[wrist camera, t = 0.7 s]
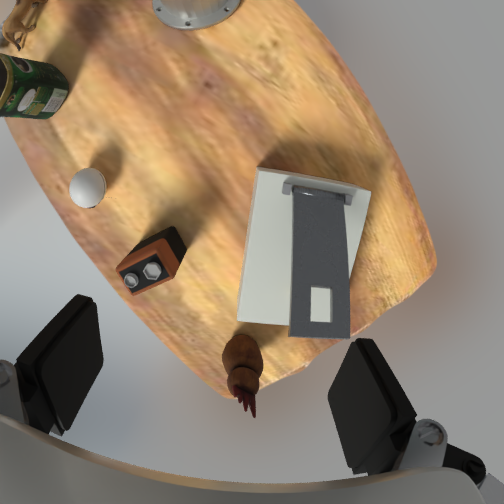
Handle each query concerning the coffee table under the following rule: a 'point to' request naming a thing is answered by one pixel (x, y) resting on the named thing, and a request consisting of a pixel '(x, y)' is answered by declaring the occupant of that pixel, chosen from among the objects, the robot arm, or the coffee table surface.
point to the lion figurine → (18, 20)
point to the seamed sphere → (88, 187)
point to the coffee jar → (30, 88)
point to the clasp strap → (319, 262)
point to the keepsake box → (287, 245)
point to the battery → (152, 261)
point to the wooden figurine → (243, 369)
